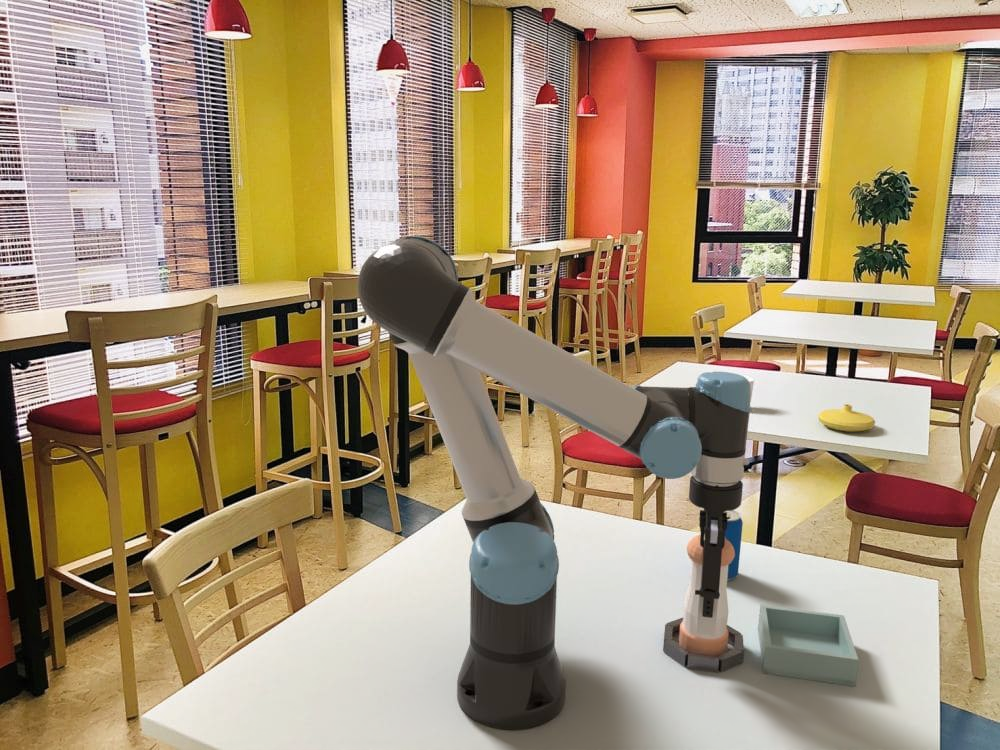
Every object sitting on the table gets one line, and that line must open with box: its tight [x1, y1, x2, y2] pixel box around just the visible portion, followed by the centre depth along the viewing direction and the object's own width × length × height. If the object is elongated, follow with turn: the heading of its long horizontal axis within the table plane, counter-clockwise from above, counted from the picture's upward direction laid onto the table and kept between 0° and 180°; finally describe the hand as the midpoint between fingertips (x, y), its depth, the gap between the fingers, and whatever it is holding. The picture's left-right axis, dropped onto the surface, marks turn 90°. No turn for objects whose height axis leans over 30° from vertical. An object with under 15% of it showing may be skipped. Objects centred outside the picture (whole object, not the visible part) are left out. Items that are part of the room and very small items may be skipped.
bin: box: [757, 604, 859, 687], centre depth 124 cm, size 13×13×4 cm
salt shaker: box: [678, 534, 735, 656], centre depth 124 cm, size 7×7×19 cm
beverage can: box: [724, 509, 744, 582], centre depth 149 cm, size 6×6×12 cm
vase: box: [817, 403, 876, 433], centre depth 241 cm, size 16×16×7 cm
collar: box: [662, 617, 745, 673], centre depth 126 cm, size 12×12×2 cm
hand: (705, 614), depth 125 cm, fingers open, 10 cm apart
